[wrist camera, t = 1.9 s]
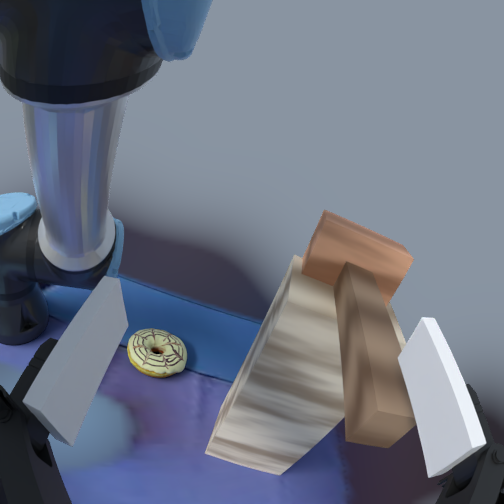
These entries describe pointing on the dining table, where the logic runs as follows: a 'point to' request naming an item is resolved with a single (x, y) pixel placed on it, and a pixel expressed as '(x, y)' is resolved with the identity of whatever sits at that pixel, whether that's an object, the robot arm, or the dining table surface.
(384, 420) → the wooden mallet
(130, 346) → the decorated donut
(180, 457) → the dining table surface
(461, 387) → the robot arm
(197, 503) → the dining table surface
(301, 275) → the stand
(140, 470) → the dining table surface
